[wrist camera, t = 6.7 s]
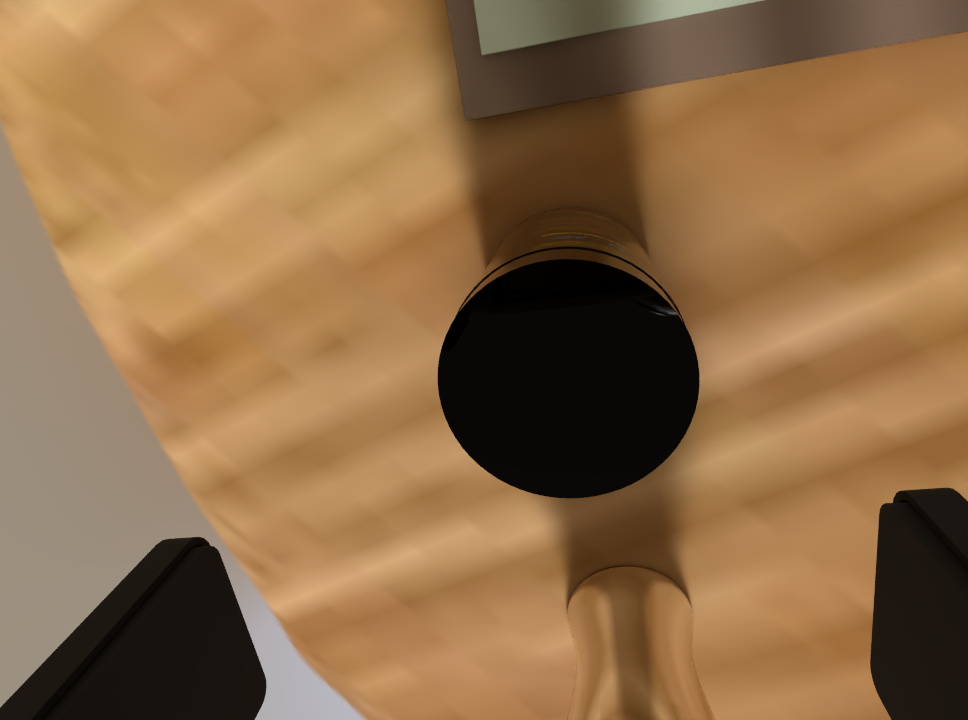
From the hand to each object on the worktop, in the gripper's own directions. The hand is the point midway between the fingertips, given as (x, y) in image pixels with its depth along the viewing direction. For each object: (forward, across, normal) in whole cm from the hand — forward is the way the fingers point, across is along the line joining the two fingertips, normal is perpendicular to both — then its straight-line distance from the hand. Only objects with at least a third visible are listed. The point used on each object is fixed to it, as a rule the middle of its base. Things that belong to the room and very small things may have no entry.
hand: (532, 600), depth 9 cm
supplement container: (+18, -1, 0) cm, 19 cm away
